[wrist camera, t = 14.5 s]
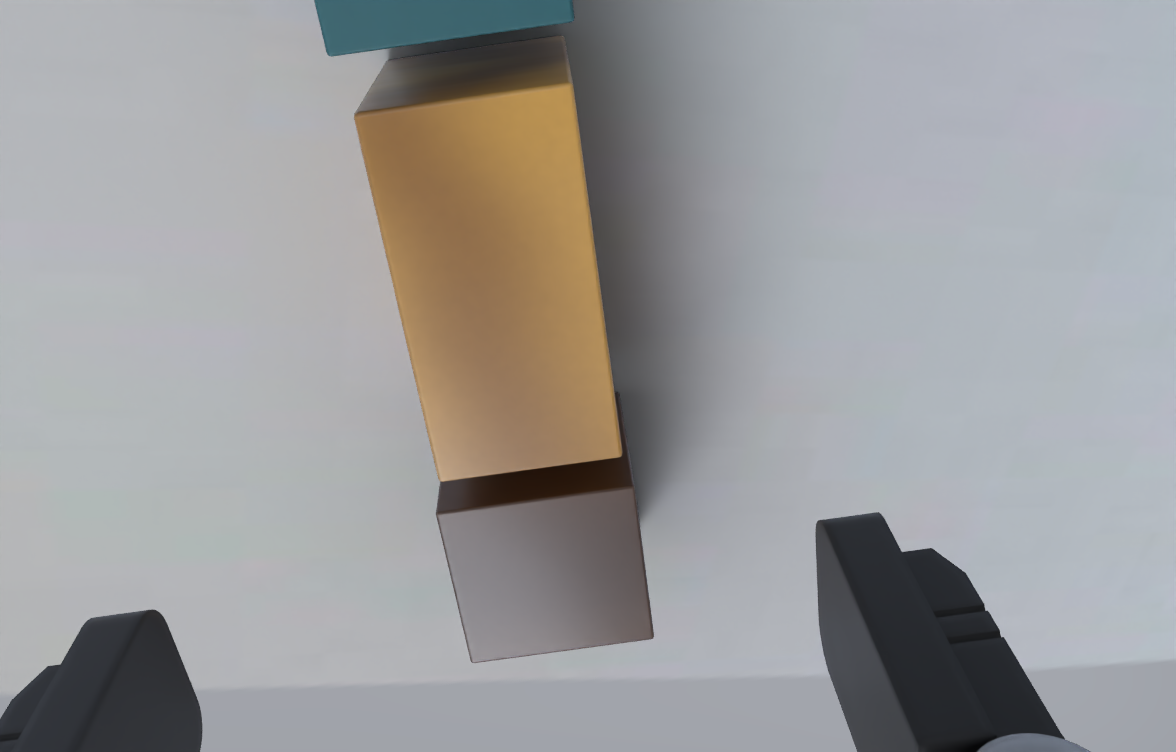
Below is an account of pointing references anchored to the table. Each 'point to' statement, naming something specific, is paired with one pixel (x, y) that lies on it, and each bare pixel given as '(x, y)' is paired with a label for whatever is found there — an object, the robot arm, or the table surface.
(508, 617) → the walnut block
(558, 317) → the honey block
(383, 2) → the teal block
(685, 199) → the table surface
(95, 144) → the table surface
